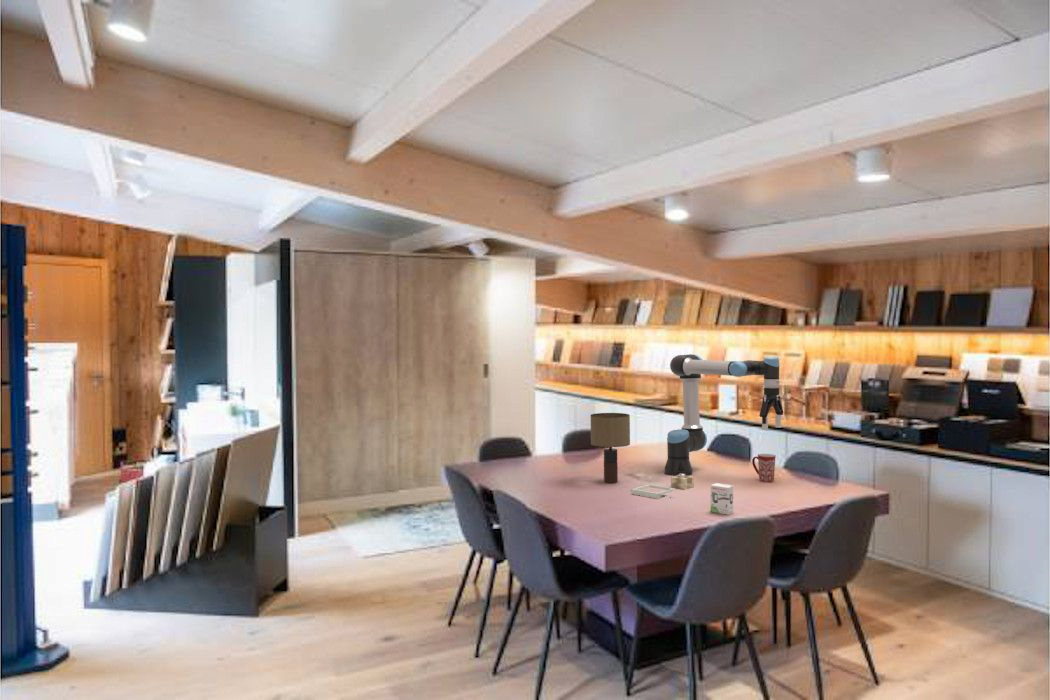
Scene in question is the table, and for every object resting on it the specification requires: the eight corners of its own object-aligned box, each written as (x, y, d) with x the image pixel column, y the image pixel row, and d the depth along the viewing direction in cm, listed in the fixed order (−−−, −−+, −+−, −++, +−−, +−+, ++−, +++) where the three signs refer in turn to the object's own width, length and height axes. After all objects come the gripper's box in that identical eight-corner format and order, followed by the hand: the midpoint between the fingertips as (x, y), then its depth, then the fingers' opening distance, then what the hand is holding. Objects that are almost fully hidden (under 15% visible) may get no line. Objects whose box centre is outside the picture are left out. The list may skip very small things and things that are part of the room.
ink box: (710, 511, 308) (709, 484, 308) (715, 509, 312) (715, 482, 311) (728, 515, 302) (728, 487, 302) (733, 512, 306) (733, 485, 306)
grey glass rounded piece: (672, 490, 351) (672, 473, 351) (680, 487, 356) (680, 471, 356) (684, 492, 346) (684, 475, 346) (692, 489, 351) (692, 473, 351)
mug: (779, 481, 368) (779, 455, 368) (769, 483, 363) (769, 457, 363) (758, 477, 379) (758, 451, 378) (748, 479, 373) (747, 453, 373)
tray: (631, 494, 344) (631, 489, 344) (649, 488, 354) (649, 484, 354) (657, 498, 333) (657, 493, 333) (675, 493, 344) (675, 488, 344)
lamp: (593, 477, 384) (592, 412, 383) (631, 478, 380) (630, 413, 379) (589, 485, 364) (588, 417, 363) (629, 486, 360) (628, 417, 359)
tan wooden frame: (670, 487, 351) (670, 477, 351) (681, 484, 357) (681, 474, 357) (685, 489, 345) (685, 479, 345) (695, 486, 352) (695, 476, 352)
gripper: (766, 389, 354) (766, 432, 354) (790, 386, 371) (790, 426, 371) (752, 388, 359) (752, 430, 360) (776, 385, 376) (776, 425, 377)
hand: (771, 428), depth 366 cm, fingers open, 13 cm apart
